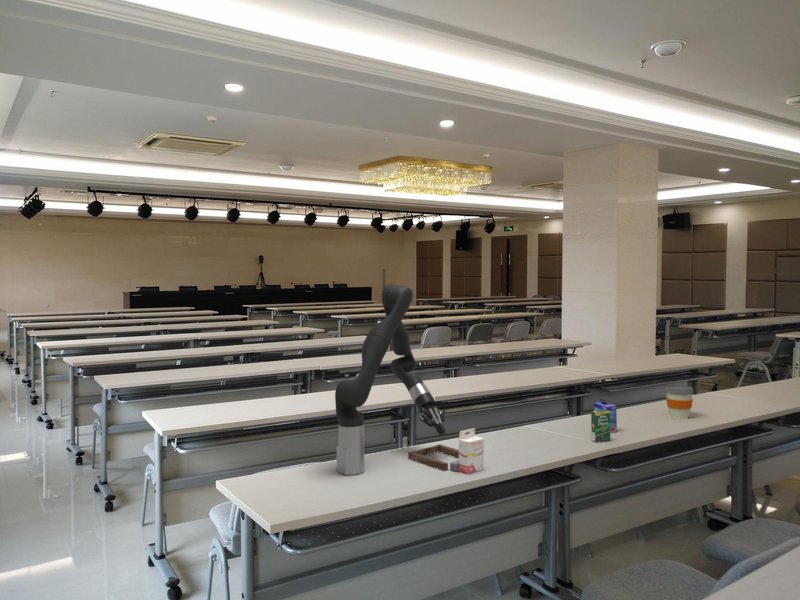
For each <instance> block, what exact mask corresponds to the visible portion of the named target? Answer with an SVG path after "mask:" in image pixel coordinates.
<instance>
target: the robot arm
mask: <svg viewBox="0 0 800 600" xmlns="http://www.w3.org/2000/svg"><path fill="white" fill-rule="evenodd" d="M413 296H414V294H413V290H412V288H410V287H408V286H403V285H398V284H392V283H390V284H387V285H385V286H384V287H383V289H382V291H381V303H382V307H383V310H384V312H385V318H383V319H382V320H381V321H379V322H378V323H377V324H375V325H374V326H373V327H372V328H370V329H369V331H368V333H367V335H366V336H365V339H364V340H363V344H362V345H361V369H360V371H359V373H358V376H357V378H356V379H355V380H351V379H343V380H340V381H339V382H338V384H337V386H336V387H335V391H334V392H335V393H334V397H335V398H334V401H335V402H334V403H335V415H336V418H337V420H338V421H337V422H338V444H337V445H336V472H337V473H339V474H342V475H343V476H353V475H359V474H362V473H364V472H365V417H364V416H363V414H361V413H360V412H359V411H358V409H357V408H360V407H362V406H363V405H364V404H365V403H366V401H367V400H368V399H369V396H370V393H371V389H372V387H373V384H374V381H375V378H376V377H377V373H378V371H379V368H380V366H381V364H382V363H383V359H384V357H385V355H386V353H387V351H388V349H389V347H390V345H391V344H392V351H393V353H394V354H395V355H396V356H400V357H397V358H394V359H393V360H391V362H390V370H391V372H392V373H393V375H394V376H395V378H398V380H399V381H400V382H402V384H403V386H405V387H406V390H407V392H408V394H409V395H410V398H411V400H412V402H413V403H414V404H415V406H416V408H417V410H418V412H419V413H420V415H419V417H418V420H419V421H421V422H422V423H424V424H425V425H427V426H428V427H429V428H431V427H433V428H434V429H435V430H436V432H437V433H438V435H439V436H442V435H443V436H444V435H445V433H446V428H445V427H444V425H443V423H444V422H445V421H446V420H445V419H446V410H444V409H443V410H440V408H439V407H438V406H437V405H436V400H435V399H434V397H433V395H432V393H431V391H430V389H429V388H428V387H427V386H426V384H425V383H424V381H423V380H422V378H421V376H420V375H419V373H417V372H414V373H413V371H415V370H416V368H417V362H416V359H415V357H414V355H413V352H412V349H411V344H410V343H411V342H410V335H409V332H408V329H407V327H406V326H405V324H404V323H403V321H402V320H403V318H404V317H405V315H406V313H407V311H408V310H409V308H410V306H411V304H412V301H413V298H414V297H413Z"/></svg>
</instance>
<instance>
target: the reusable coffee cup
mask: <svg viewBox="0 0 800 600" xmlns="http://www.w3.org/2000/svg"><path fill="white" fill-rule="evenodd" d="M665 393H666V398H665V400H666V406H667V408H668V415H670V416H671V417H676V418H688V417H689V418H690V414H691V409H692V408H693V407H692V406H693V395H694V388H693V387H692V386H688V385H680V384H670V385H666V386H665ZM670 416H669V417H670ZM671 417H670V418H671ZM676 418H675V419H676ZM689 418H688V419H689Z"/></svg>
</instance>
